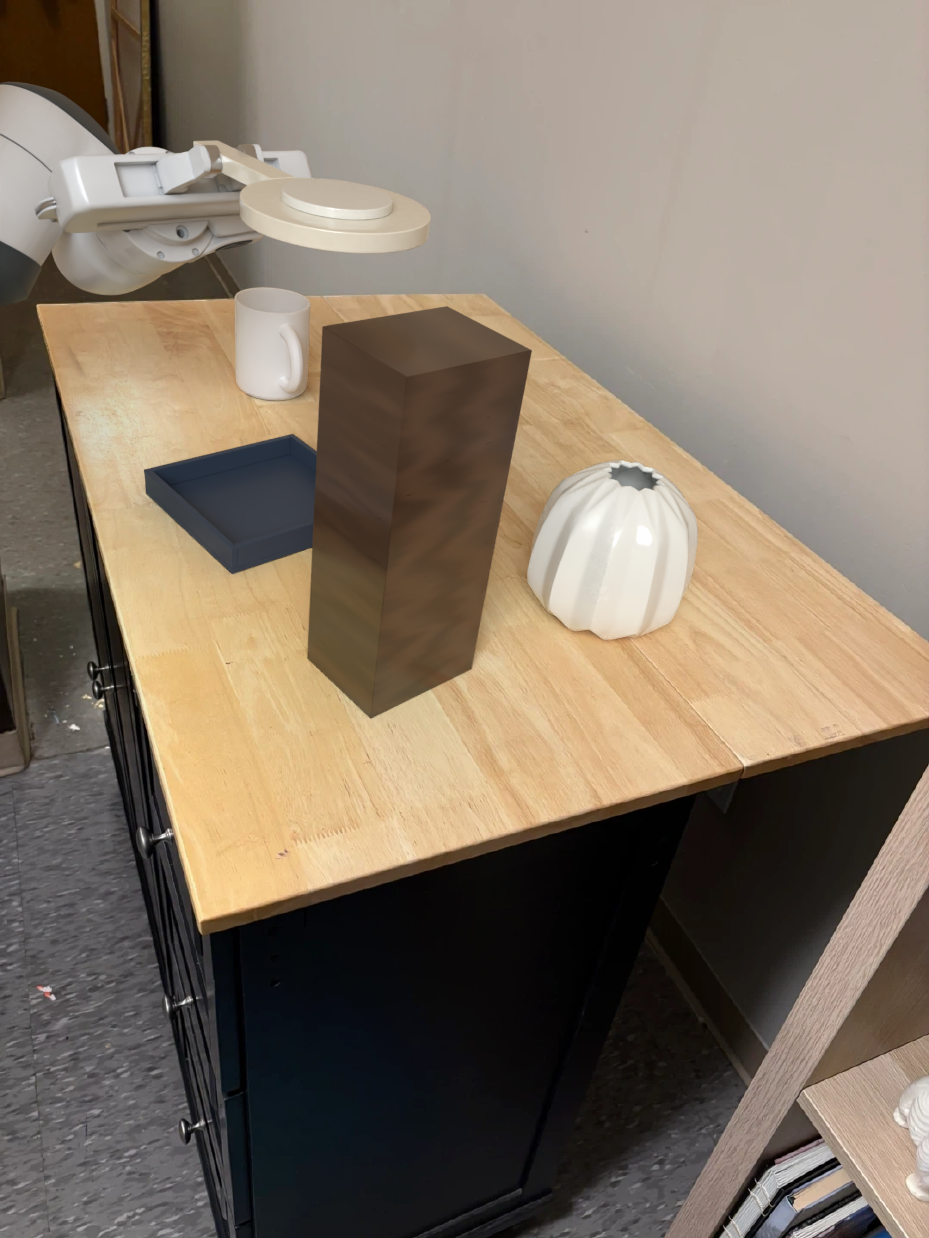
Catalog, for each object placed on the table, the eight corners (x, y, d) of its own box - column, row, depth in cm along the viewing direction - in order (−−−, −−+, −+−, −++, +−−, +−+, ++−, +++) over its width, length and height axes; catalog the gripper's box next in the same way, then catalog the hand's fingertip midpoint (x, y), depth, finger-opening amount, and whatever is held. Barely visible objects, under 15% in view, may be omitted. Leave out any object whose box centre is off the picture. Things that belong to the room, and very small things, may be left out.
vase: (704, 634, 80) (755, 501, 72) (583, 676, 73) (624, 535, 65) (605, 552, 88) (640, 425, 80) (487, 583, 81) (513, 448, 73)
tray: (231, 574, 77) (231, 549, 75) (145, 493, 85) (143, 469, 84) (382, 524, 87) (384, 500, 85) (292, 456, 95) (292, 433, 93)
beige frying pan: (312, 263, 52) (313, 230, 50) (128, 161, 63) (125, 133, 62) (467, 243, 59) (471, 214, 58) (275, 155, 70) (276, 130, 69)
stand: (370, 719, 66) (406, 377, 50) (306, 658, 70) (322, 326, 54) (471, 669, 72) (532, 350, 56) (407, 616, 76) (447, 306, 60)
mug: (331, 412, 104) (336, 324, 98) (261, 420, 100) (262, 328, 94) (291, 370, 112) (294, 285, 106) (225, 375, 108) (224, 288, 102)
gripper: (13, 174, 68) (73, 106, 57) (253, 166, 80) (339, 108, 69) (41, 262, 69) (104, 212, 59) (272, 241, 81) (359, 197, 71)
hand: (233, 156), depth 64 cm, fingers closed on beige frying pan, 2 cm apart
